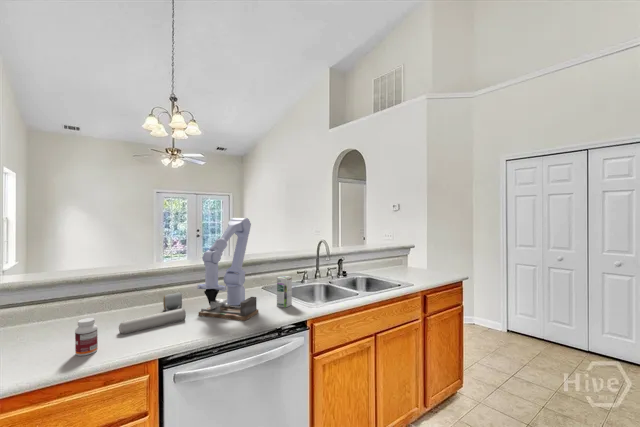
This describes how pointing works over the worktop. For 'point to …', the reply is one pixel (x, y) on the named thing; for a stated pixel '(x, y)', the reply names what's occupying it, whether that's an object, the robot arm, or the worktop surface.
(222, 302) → the gauge carriage
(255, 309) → the gauge base
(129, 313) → the worktop surface
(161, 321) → the tube
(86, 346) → the pill bottle
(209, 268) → the robot arm
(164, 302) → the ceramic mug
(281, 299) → the syrup box
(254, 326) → the worktop surface
